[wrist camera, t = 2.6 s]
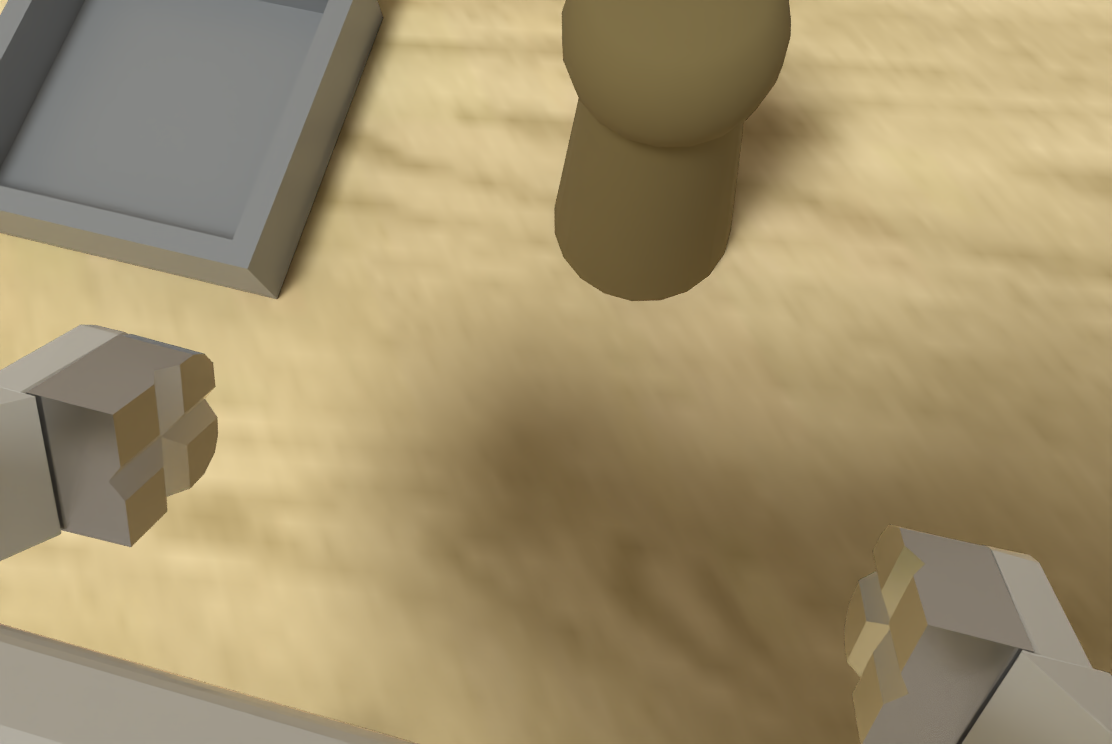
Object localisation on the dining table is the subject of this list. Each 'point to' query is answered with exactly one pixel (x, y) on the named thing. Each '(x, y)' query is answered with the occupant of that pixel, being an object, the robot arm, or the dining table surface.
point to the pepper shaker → (659, 134)
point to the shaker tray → (175, 127)
